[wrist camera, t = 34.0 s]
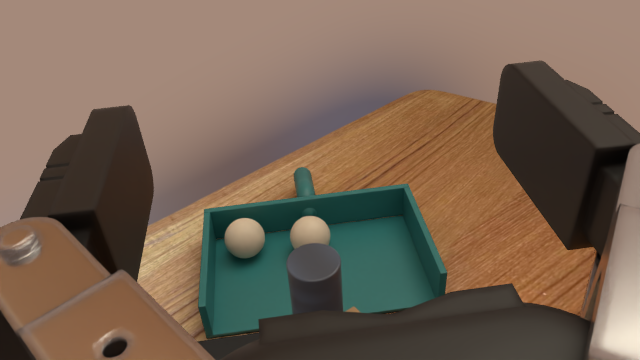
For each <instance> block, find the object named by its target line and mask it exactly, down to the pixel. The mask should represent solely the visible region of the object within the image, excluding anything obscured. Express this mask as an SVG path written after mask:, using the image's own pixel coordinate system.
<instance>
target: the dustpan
mask: <svg viewBox="0 0 640 360" xmlns="http://www.w3.org/2000/svg"><path fill="white" fill-rule="evenodd" d="M294 181H295V188H296V194H297V198H289V199H281V200H273V201H265V202H257V203H249V204H241V205H233V206H225V207H217V208H209V209H204V222H203V238H202V254H201V269H200V285H199V301H198V308H199V312H200V316H201V319H202V323H203V326H204V330H205V334H206V337H207V339H208V338H215V337H222V336H229V335H236V334H243V333H250V332H257V331H259V322H258V319H263V318H270V317H277V316H284V315H291V314H292V306H291V298H290V290H289V283H288V275H287V267H286V262H287V259H288V257H289V255H290V254H291V252H292V251H293V250H295V249H294V247H293V246H292V244H291V240H290V232H291V229H292V227H293V225H294V224H295V222H296V221H297V220H299V219H300V218H302V217H305V216H315V217H318V218H320V219H322V220H323V221H324V222H325V223H326V224H327V226H328V227H329V230H330V242H329V245H328V246H330V247H332V248H333V249H335V250H336V251H337V252H338V254H339V256H340V258H341V271H342V292H343V312H345V311H347V310H349V309H350V308H352V307H356V308H357V309H358V310H359V311H360V312H361V313H374V314H383V313H390V312H397V311H402V310H405V309H408V308H410V307H413V306H416V305H418V304H421V303H424V302H426V301H429V300H431V299H434V298H437V297H439V296H442V295H445V288H446V279H447V271H446V269H445V266H444V264H443V262H442V260H441V257H440V255H439V253H438V251H437V248H436V246H435V244H434V242H433V239H432V237H431V235H430V233H429V230H428V228H427V226H426V224H425V221H424V219H423V217H422V215H421V212H420V210H419V208H418V206H417V203H416V201H415V199H414V196H413V194H412V192H411V190H410V188H409V185H408V184H401V185H393V186H385V187H377V188H369V189H361V190H353V191H345V192H337V193H329V194H321V195H315V191H314V186H313V181H312V177H311V173H310V171H309V170H308V169H307V168H304V167H301V168H298V169H297V170H296V171H295V173H294ZM399 215H403V216H399ZM391 216H395V217H391ZM383 217H387V218H383ZM241 218H249V219H253V220H255V221H256V222H258V223H259V224H260V225H261V227H262V228H263V231H264V234H265V242H264V245H263V248H262V249H261V251H260V252H259V253H258V254H256V255H255V256H253V257H250V258H238V257H236V256H234V255H233V254H231V253H230V252H229V251H228V249H227V247H226V245H225V240H224V239H221V238H224V237H225V232H226V230H227V228H228V226H229V225H230V224H231V223H232V222H234V221H235V220H237V219H241ZM376 218H379V219H376ZM368 219H372V220H368ZM360 220H364V221H360ZM353 221H356V222H353ZM345 222H349V223H345ZM337 223H341V224H337ZM329 224H333V225H329ZM283 230H287V231H283ZM275 231H279V232H275ZM268 232H271V233H268ZM216 239H217V240H216Z"/></svg>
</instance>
